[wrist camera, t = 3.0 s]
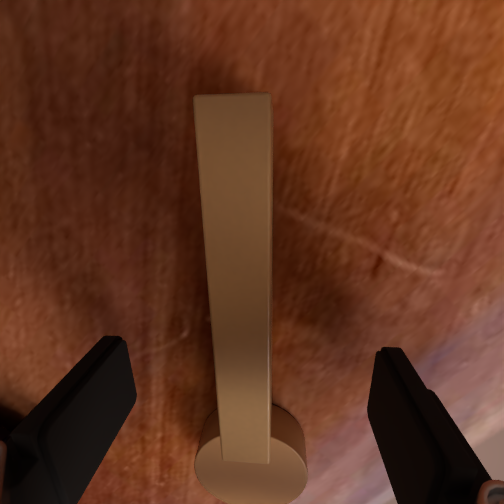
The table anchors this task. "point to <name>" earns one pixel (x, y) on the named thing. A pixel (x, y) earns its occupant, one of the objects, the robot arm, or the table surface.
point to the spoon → (242, 306)
